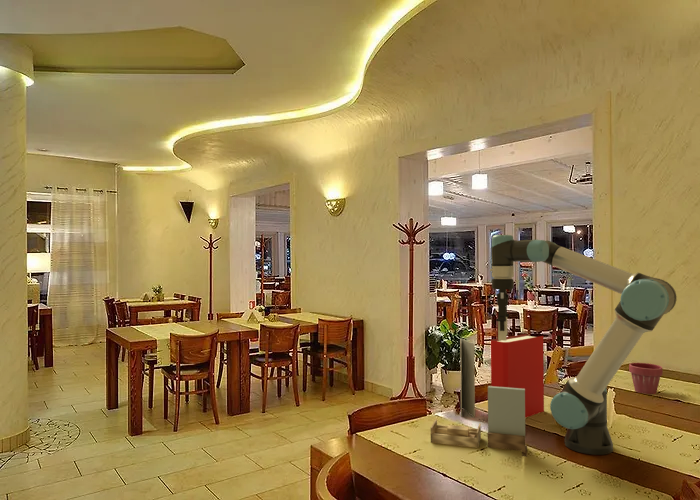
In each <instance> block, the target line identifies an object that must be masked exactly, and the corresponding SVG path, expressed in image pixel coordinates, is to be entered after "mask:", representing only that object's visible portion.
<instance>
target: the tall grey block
mask: <svg viewBox="0 0 700 500" xmlns="http://www.w3.org/2000/svg"><path fill="white" fill-rule="evenodd" d="M459 341H460V342H459V343H460V347H459V348H460V350H459V351H460V417H462V416H463V411H462V409H463V410H464V411H465V412H466V413H467V414H469V416H470V415H471V416H472V417H473V418H475V417H476V407H475V406H476V397H475V395H476V393H475V392H476V388H475V387H476V386H475V385H476V384H475V383H476V382H475V378H476V377H475V376H476V374H475V373H476V372H475V369H476V368H475V367H476V366H475V364H476V363H475V361H476V360H475V354H476V353H475V340H474V338H472V342H471V341H468V340H466V339H464V338H460V339H459Z"/></svg>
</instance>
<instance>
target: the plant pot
mask: <svg viewBox="0 0 700 500" xmlns="http://www.w3.org/2000/svg"><path fill="white" fill-rule="evenodd" d="M628 366H629V367H628V373H630V375H631V379H632V383H633V387H634V391H635V392H637V393H639V394H644V395H656V394H657V392H658V387H659V385H660V379H661V377H662V376H663V366H661V365H658V364H654V363H648V362H630V363H629V365H628Z"/></svg>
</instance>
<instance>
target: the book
mask: <svg viewBox="0 0 700 500" xmlns="http://www.w3.org/2000/svg"><path fill="white" fill-rule="evenodd" d="M544 350H545V349H544V335H541V336H531V335H528V333H523V334H517V335H510V336H506V341H505V340H498V338H493V339H490V386H496V387H509V388H522V389H525V419H527V418H528V417H529V418H530V417H532V416H534V415H537V414H541V413H543V412H545V382H544V381H545V380H544V379H545V377H544V376H545V375H544V374H545V373H544V372H545V370H544V369H545V367H544V364H545V362H544V360H545V359H544V356H545V355H544V354H545V353H544Z"/></svg>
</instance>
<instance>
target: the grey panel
mask: <svg viewBox="0 0 700 500" xmlns="http://www.w3.org/2000/svg"><path fill="white" fill-rule="evenodd" d="M488 432H492V433H501V434H511V435H521V436H525V437H526V418H525V389H522V388H509V387H496V386H491V385H488V386H487V433H488Z"/></svg>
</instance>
